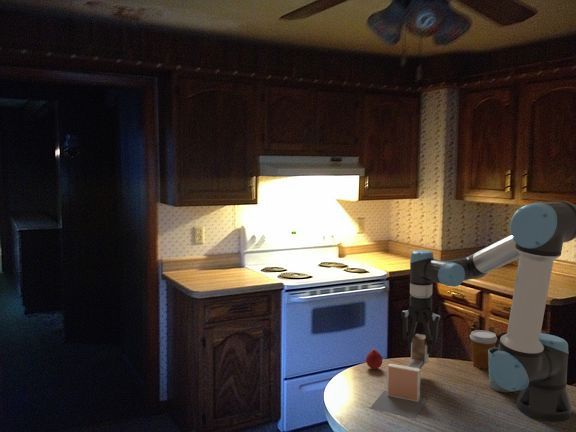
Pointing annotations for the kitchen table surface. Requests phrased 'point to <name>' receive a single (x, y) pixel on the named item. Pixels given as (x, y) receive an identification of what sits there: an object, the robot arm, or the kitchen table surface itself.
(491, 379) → the grey-green hollow open cylinder
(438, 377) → the kitchen table surface
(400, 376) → the tile
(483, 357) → the disposable coffee cup
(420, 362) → the tan l-shaped piece
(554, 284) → the kitchen table surface
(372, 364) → the onion
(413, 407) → the mat
